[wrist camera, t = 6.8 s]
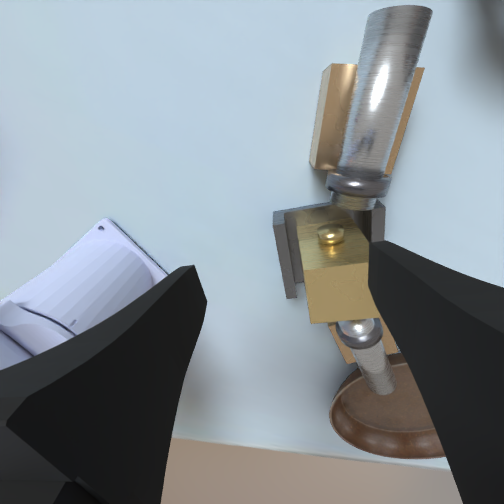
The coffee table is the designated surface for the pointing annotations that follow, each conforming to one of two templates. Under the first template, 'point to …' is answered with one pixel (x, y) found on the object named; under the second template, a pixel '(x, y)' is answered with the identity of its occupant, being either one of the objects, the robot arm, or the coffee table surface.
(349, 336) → the shaft
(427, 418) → the plant saucer
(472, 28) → the coffee table surface
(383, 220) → the cradle
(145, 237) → the coffee table surface
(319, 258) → the block
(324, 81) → the shaft
